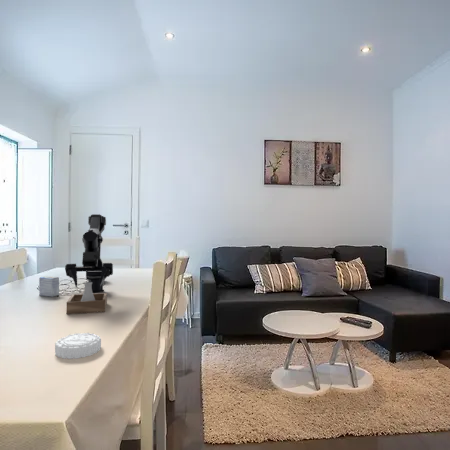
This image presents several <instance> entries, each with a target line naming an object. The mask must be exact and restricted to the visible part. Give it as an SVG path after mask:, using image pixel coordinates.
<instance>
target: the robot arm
mask: <svg viewBox="0 0 450 450" xmlns="http://www.w3.org/2000/svg"><path fill="white" fill-rule="evenodd" d="M87 222H88V223H87V224H88V226H89V229H88V230H87V231H85V233H84V234H83V235H82V238H81V239H82V243H83V247H84V251H83V252H82V260H81V261H82V262H81V264H82V266H77V263H66V264H65V267H64V270H65V274H66V276H67V277H69V278H71V279H72V280H73V282H74V285H75V288H77V287H78V272H85V279H86V280H87V282H92V292H93V294H94V293H101V292H104V291H105V289H104V288H103V287H104V281H105V280H106V279H107V278H108V277H110V276H112V275H113V274H114V266H113V265H114V264H113V263H112V262H103V261H102V262H101V260H102V259H101V260H100V258H101V249H102V248H101V246H102V243H103V242H104V238H103V236H102V233H103V232H104V231H105V226H106V225H107V217H106V216H104V215H102V214H100V213H99V214H95V213H94V214H90V215H89V216H88V221H87Z"/></svg>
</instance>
